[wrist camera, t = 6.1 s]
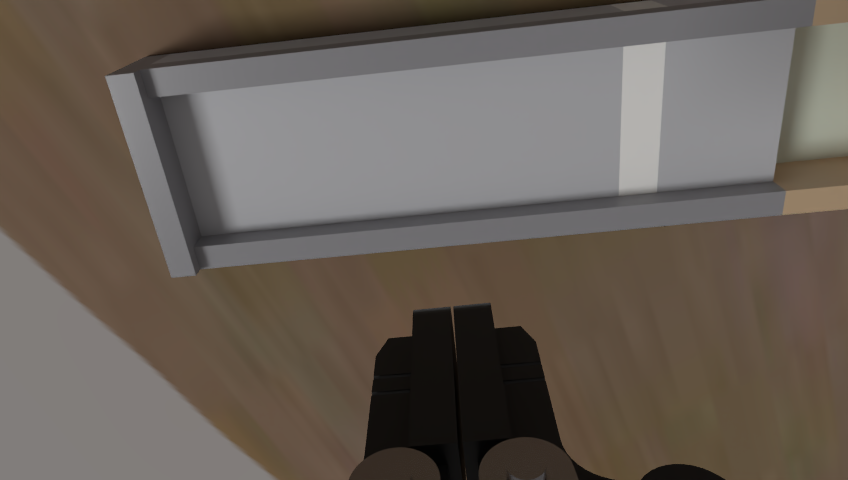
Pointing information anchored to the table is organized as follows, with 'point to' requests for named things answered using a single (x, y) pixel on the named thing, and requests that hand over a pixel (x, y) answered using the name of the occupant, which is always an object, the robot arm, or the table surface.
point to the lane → (491, 130)
